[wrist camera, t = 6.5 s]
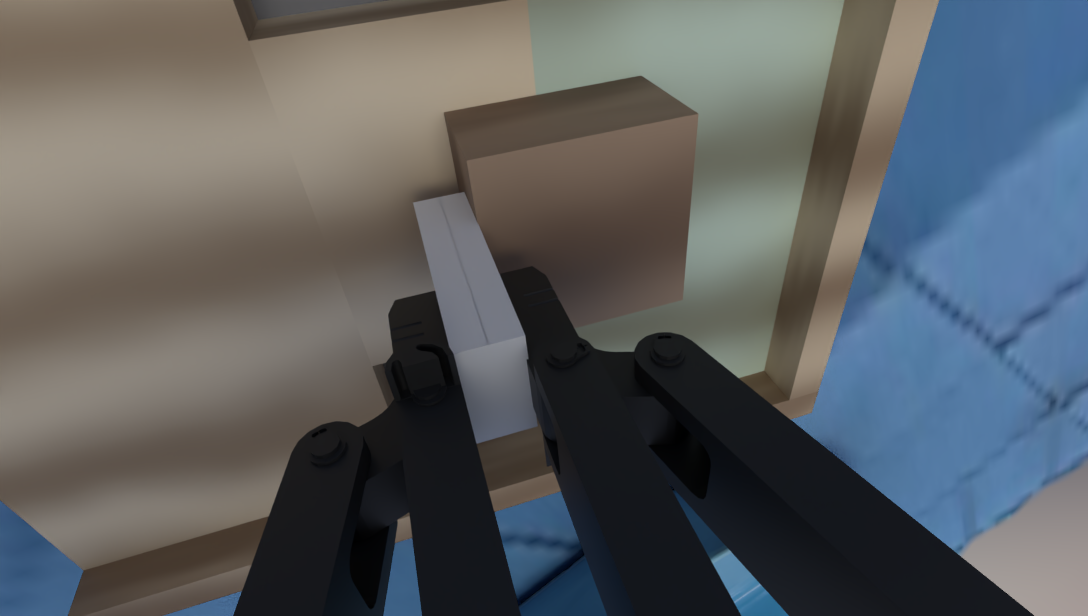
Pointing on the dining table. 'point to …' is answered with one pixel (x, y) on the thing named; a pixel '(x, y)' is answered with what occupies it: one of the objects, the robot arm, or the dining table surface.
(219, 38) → the box
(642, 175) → the walnut block
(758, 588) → the casserole dish
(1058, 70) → the dining table surface
